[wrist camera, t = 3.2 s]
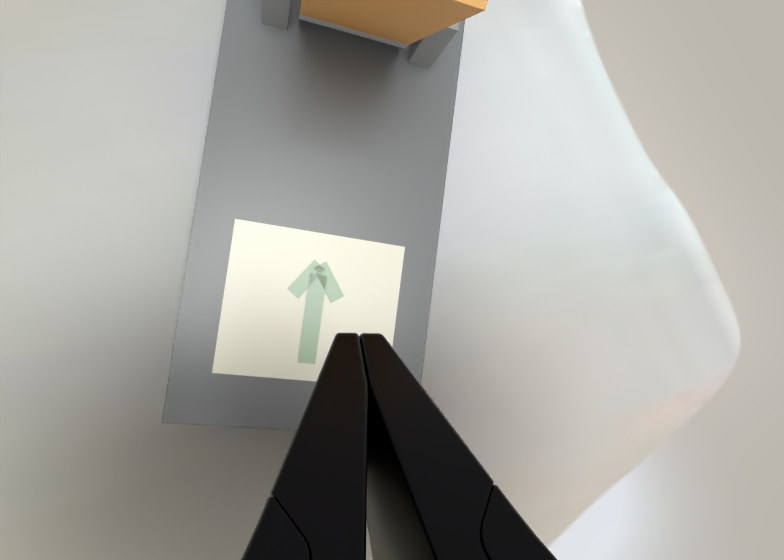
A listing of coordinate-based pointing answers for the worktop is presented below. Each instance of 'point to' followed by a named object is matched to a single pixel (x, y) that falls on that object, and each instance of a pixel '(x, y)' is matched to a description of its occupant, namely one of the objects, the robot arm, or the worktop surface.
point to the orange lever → (389, 17)
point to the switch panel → (309, 211)
